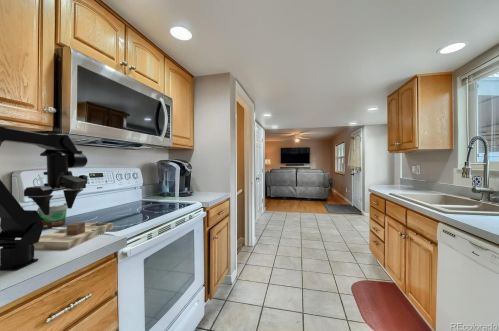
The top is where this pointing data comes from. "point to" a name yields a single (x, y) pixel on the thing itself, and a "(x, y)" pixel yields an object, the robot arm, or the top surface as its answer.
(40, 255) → the top surface
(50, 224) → the food container
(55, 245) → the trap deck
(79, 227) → the walnut block
